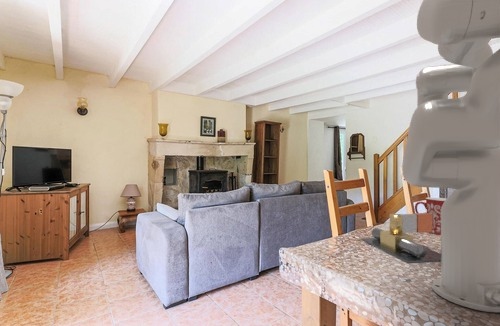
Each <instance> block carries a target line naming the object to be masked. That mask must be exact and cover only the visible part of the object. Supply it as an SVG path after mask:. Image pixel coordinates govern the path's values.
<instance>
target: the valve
mask: <svg viewBox="0 0 500 326" xmlns="http://www.w3.org/2000/svg"><path fill="white" fill-rule="evenodd" d="M371 236H372V237H367V238H365V237H364V238H361V241H362V242H363V243H364V242H365V243H366V244H368V245H371V246H372V247H374V248H377V249H379V250H381V251H382V252H384V253H387V254H388V255H391V257H395V258H397V259H398V260H401V261H403V262H404V263H407V264H417V263H431V262H432V263H433V262H441V252H437V251H434V250H432V249H430V248H427V247H426V246H425V245H423V244H420V243H417V242H415V241H414V236H413V235H412V234H409V233H402V234H394V233H391V232H390V230H383V229H381V228H378V227H375V228H373V229H372V230H371Z"/></svg>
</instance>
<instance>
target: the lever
mask: <svg viewBox="0 0 500 326" xmlns="http://www.w3.org/2000/svg"><path fill="white" fill-rule="evenodd" d="M389 231H390V232H391V233H394V234H402V233H406V234H409V233H417V234H419V233H422V234H423V233H430V232H432V214H429V213H427V212H418V213H416V212H415V213H389Z"/></svg>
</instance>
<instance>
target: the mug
mask: <svg viewBox="0 0 500 326" xmlns="http://www.w3.org/2000/svg"><path fill="white" fill-rule="evenodd" d="M446 199H447V198H445V197H425V201H426V202H425V201H417V202H416V203H415V205H414V210H415V213H419V211H418V205H420V204H422V205H423V206H424V208H425V210H426V213H429V214H432V232H429V233H430V234H434V235H440V236H441V208H442V205H443V203H444V202H445V200H446Z"/></svg>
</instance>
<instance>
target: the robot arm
mask: <svg viewBox="0 0 500 326" xmlns="http://www.w3.org/2000/svg"><path fill="white" fill-rule="evenodd" d="M416 28H417V32H418V34H419V36H420V38H422V39H423V40H425V41H427V42H430V43H431V44H433V45H437V51H438V54H439V56H440V57H441V58H442V59H443V60H444V61H446V62H448V63H446V64H440V65H432V66H426V67H424V68H422V69H421V70H420V71H419V72H418V74H417V75H416V78H415V88H416V90H417V101H416V102H417V103H416V105H417V107H416V109H415V110H414V111H413V113H412V116H411V119H410V123H409V127H408V134H407V137H406V144H405V148H404V152H403V158H402V166H401V167H402V168H401V169H402V176H403V178H404V180H405V182H406V183H408V185H409V186H410V185H411V186H413V187H417V188H419V187H420V188H432V189H433V188H438V189H454V191H452V192H451V193H450V195H448V197H447V198H446V200H445V202H444V203H443V205H442V208H441V235H440V254H441V261H440V277H438V278H435V279H434V280H432V282H431V284H432V285H431V287H432V290H433V291H434V293H436V294H437V295H438V296H439V297H441V298H443V299H444V300H447V301H449V302H451V303H453V304H456V305H458V306H461V307H465V308H467V309H470V310H475V311H481V312H488V313H500V48H499V49H498V50H496V51H495V52H493V49H492V47H491V45H490V44H489V43H490V42H491V41H492V40H493V39H499V38H500V0H422V2H421V4H420V7H419V9H418V12H417V16H416ZM452 93H453V94H454V93H465V94H464V95H463V96H461V97H455V98H454V97H453V98H449V94H452Z"/></svg>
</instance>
